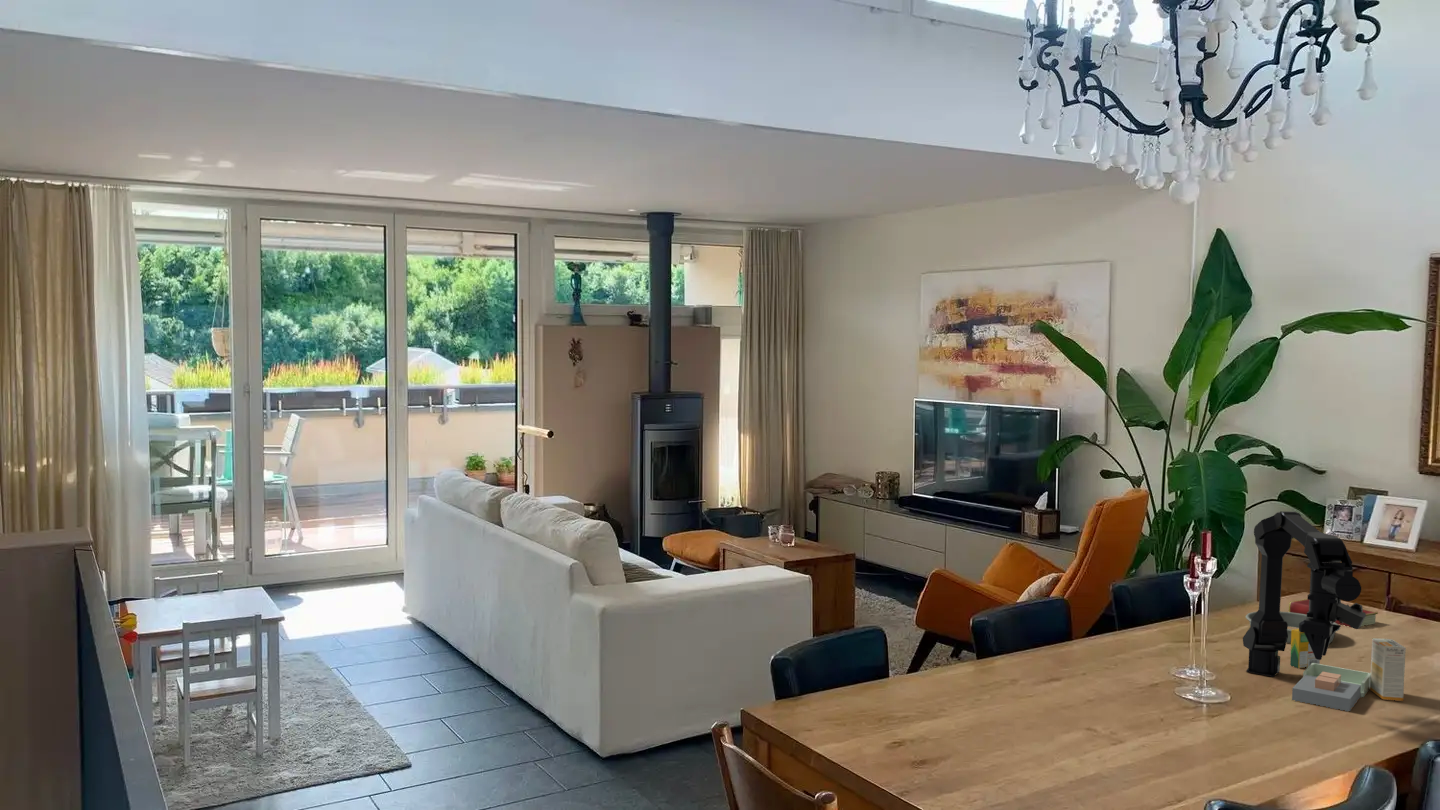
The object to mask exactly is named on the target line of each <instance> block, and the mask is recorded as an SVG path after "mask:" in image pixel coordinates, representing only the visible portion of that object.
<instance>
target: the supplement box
mask: <svg viewBox="0 0 1440 810" xmlns="http://www.w3.org/2000/svg"><path fill="white" fill-rule="evenodd" d="M1406 650H1407V649H1406V647H1405V646H1404V645H1402V644H1400V643H1399V642H1397V641H1396V640H1394V639H1390V638H1372V640H1371V658H1370V659H1371V661H1370V673H1371V678H1370V689H1369V691H1371V692H1373V693H1374V694H1375V695H1376V696H1377V697H1379V698H1380V699H1381V700H1384V701H1394V700H1395V701H1398V702H1404V695H1405V694H1404V691H1405V690H1404V689H1405V671H1406V670H1405V668H1406Z"/></svg>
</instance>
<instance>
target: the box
mask: <svg viewBox="0 0 1440 810" xmlns="http://www.w3.org/2000/svg"><path fill="white" fill-rule="evenodd" d="M1322 672H1328V673H1334V674H1339V675H1341V681H1342V682H1347V683H1353V684H1358V685H1361V693H1360V698H1362V697H1363V698H1364V697H1365V696H1366V695H1365V694H1367V693H1368V692H1369V691H1370V678H1371V672H1367V671H1361V670H1357V669H1356V670H1354V669H1350V668H1343V667H1339V666H1334V665H1333V666H1332V665H1326V664H1322V663H1320V664H1317V663H1312V664H1311V665H1310V666H1309V667H1306V668H1305V670H1304V671H1303V673H1302V678H1303V677H1304V676H1305V675H1309V676H1315V677H1318V676H1319V675H1320V674H1321V673H1322ZM1368 690H1369V691H1368Z"/></svg>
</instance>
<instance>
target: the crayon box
mask: <svg viewBox="0 0 1440 810" xmlns="http://www.w3.org/2000/svg"><path fill="white" fill-rule="evenodd" d="M1320 662H1321V660H1317V659H1316V658H1315V656H1314V653H1313V651H1312V649H1311V646H1310V644H1309V642H1308V640H1307V638H1306V636H1305V633H1303V632H1300V631H1299V628H1294V629H1292V630H1291V643H1290V662H1289V663H1290V665H1291V666H1290V667H1293V666H1294V667H1293V668H1297V669H1298V668H1300V669H1303V668H1304V669H1306V668H1308V667H1309V666H1310V665H1311V664H1312V663H1317V664H1321V663H1320ZM1305 667H1306V668H1305Z"/></svg>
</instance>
